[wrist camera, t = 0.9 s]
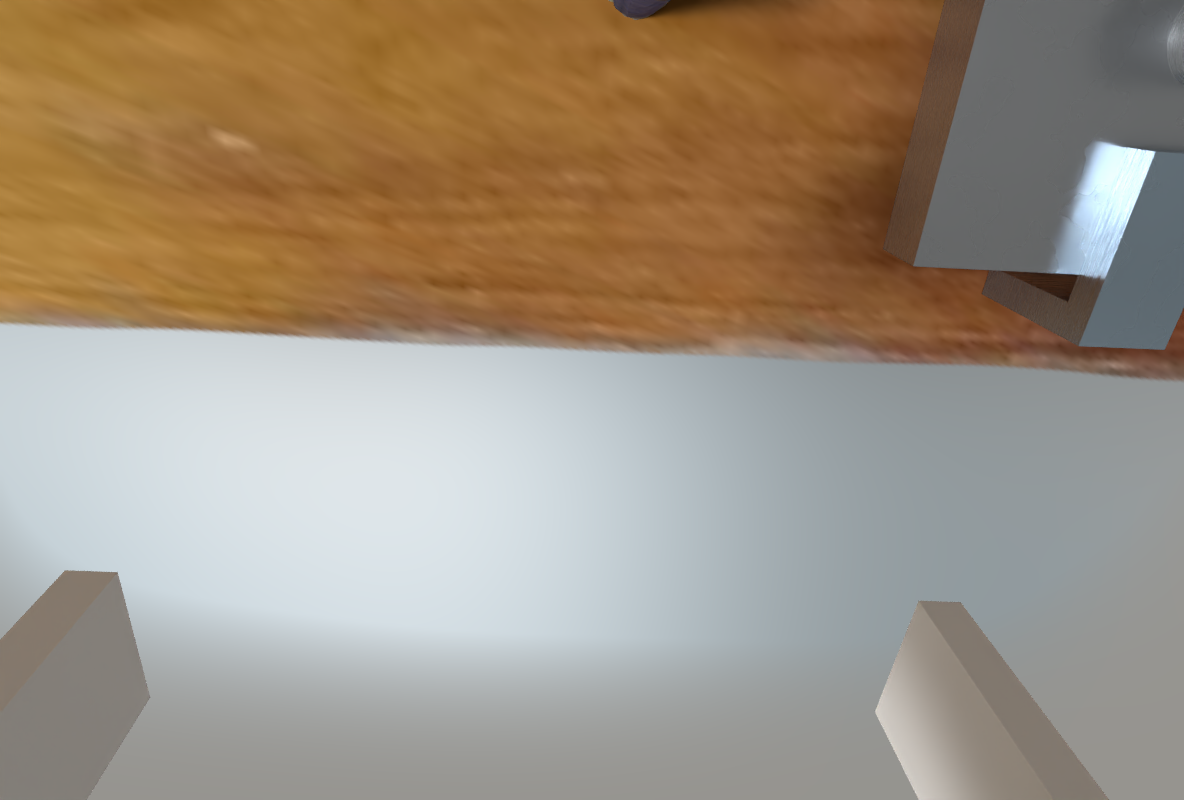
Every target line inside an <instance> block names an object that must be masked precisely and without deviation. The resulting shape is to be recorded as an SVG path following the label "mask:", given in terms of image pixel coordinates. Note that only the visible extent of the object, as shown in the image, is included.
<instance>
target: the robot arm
mask: <svg viewBox="0 0 1184 800" xmlns="http://www.w3.org/2000/svg"><path fill="white" fill-rule="evenodd" d="M149 698H150V695H149V691H148V687H147V684H146V680H145V676H144V672H143V668H142V664H141V660H140V657H139V653H138V649H137V645H136V642H135V637H134V634H133V630H132V626H131V622H130V618H129V614H128V611H127V607H126V603H125V599H124V595H123V592H122V588H121V584H120V580H119V576H118V573H117V572H91V571H64V572H63V573H62V574H61V576H60V577H59V578H58V579H57V580H56V581H55V582H54V583H53V584H52V585H51V586H50V587H49V588H48V589H47V590H46V592H45V593H44V594H43V595H42V596H41V597H40V598H39V599H38V600H37V601H36V602H35V603H34V604H33V606H31V608H30V609H29V610H28V611H27V612H26V613H25V614H24V615H23V616H22V617H21V618H20V619H19V620H18V621H17V622H16V624H15V625H14V626H13V627H12V628H11V629H10V630H9V631H8V632H7V633H6V635H4V636H3V638H2V639H1V640H0V800H87V798H88V797H89V795H90V794H91V792H92V790H93V789H94V787H95V785H96V784H97V782H98V781H99V779H100V777H101V776H102V774H103V773H104V771H105V769H106V768H107V766H108V764H109V762H110V761H111V760H112V758H113V756H114V755H115V753H116V752H117V750H118V748H119V747H120V745H121V743H122V742H123V740H124V739H125V737H126V735H127V734H128V732H129V731H130V729H131V727H132V726H133V724H134V723H135V721H136V719H137V718H138V716H139V714H140V713H141V711H142V710H143V708H144V706H145V705H146V703H147V701H148V700H149ZM875 713H876V715H877V717H878V718H879V720H880V723H881V724H882V727H883V728H884V731H885V733H886V735H887V737H888V739H889V741H890V743H891V745H892V747H893V749H894V751H895V753H896V755H897V757H898V759H899V761H900V763H901V765H902V767H903V769H904V771H905V773H906V775H907V777H908V779H909V781H910V783H911V785H912V787H913V789H914V791H915V793H916V795H917V797H918V799H919V800H1109V799H1108V798H1107V796H1106V795H1105V794H1104V792H1103V791H1102V790H1101V788H1100V787H1099V786H1098V784H1097V783H1096V782H1095V780H1094V779H1093V778H1092V777H1091V775H1090V774H1089V772H1088V771H1087V770H1086V768H1085V767H1084V766H1083V765H1082V764H1081V762H1080V761H1079V759H1078V758H1077V757H1076V755H1075V754H1074V753H1073V751H1072V750H1071V749H1070V747H1069V746H1068V745H1067V743H1066V742H1065V741H1064V739H1063V738H1062V737H1061V735H1060V734H1059V733H1058V731H1057V730H1056V729H1055V727H1054V726H1053V725H1052V723H1051V722H1050V721H1049V720H1048V718H1047V717H1046V715H1045V714H1044V713H1043V712H1042V710H1041V709H1040V707H1039V706H1038V705H1037V703H1036V702H1035V701H1034V700H1033V698H1032V697H1031V695H1030V694H1029V693H1028V692H1027V690H1026V689H1025V687H1024V686H1023V685H1022V683H1021V682H1020V681H1019V680H1018V678H1017V677H1016V675H1015V674H1014V673H1013V671H1012V670H1011V669H1010V668H1009V666H1008V665H1007V664H1006V662H1005V661H1004V660H1003V658H1002V657H1001V656H1000V654H999V653H998V652H997V650H996V649H995V648H994V646H993V645H992V644H991V642H990V641H989V640H988V638H987V637H986V636H985V634H984V633H983V632H982V630H981V629H980V628H979V626H978V625H977V624H976V622H975V621H974V620H973V618H972V617H971V616H970V614H969V613H968V612H967V610H966V609H965V608H964V607H963V605H962V604H961V603H960V602H936V601H918V604H917V607H916V609H915V612H914V614H913V617H912V619H911V622H910V624H909V627H908V629H907V632H906V634H905V638H904V640H903V642H902V645H901V647H900V650H899V652H898V655H897V657H896V660H895V663H894V665H893V667H892V670H891V673H890V675H889V678H888V680H887V683H886V686H885V688H884V691H883V693H882V695H881V698H880V700H879V703H878V706H877V708H876V711H875Z"/></svg>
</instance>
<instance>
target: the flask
mask: <svg viewBox="0 0 1184 800" xmlns="http://www.w3.org/2000/svg"><path fill="white" fill-rule="evenodd" d="M609 1H612V2H614V6H615V8H616V9H617V10H619V11H620V12H621V13H622V14H623V15H624V16H626V17H630V18H632V19H634V20H638V19H643V18H645V17H648V16H650V15H651V14H653V13H655V12H656V11H657V10H659V9H661V8H662V7H664V6H665V5H667V2H670V0H609Z"/></svg>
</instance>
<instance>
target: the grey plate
mask: <svg viewBox="0 0 1184 800" xmlns="http://www.w3.org/2000/svg"><path fill="white" fill-rule="evenodd" d="M883 249H884V250H885V251H887V252H889V253H891V254H892V255H894V256H896V257H898V258H900V259H901V260H903V261H905V262H907V263H908V264H910V265H912V266H919V267H939V268H958V269H978V270H989V274H988V277H987V280H986V283H985V286H984V289H983V292H982V294H983V295H985V296H987V297H988V298H990V299H992V300H994V301H996V302H998V303H1000V304H1001V305H1003V306H1005V307H1007V308H1009V309H1011V310H1013V311H1014V312H1016V313H1018V314H1020V315H1022V316H1024V317H1026V318H1028V319H1029V320H1031V321H1033V322H1035V323H1037V324H1039V325H1041V326H1042V327H1044V328H1046V329H1048V330H1050V331H1052V332H1054V333H1055V334H1057V335H1059V336H1061V337H1063V338H1065V339H1067V340H1068V341H1070V342H1072V343H1074V344H1076V345H1078V346H1090V347H1114V348H1138V349H1161V350H1165V348H1166V345H1167V343H1168V341H1169V339H1170V337H1171V334H1172V332H1173V330H1174V328H1175V326H1176V323H1177V321H1178V319H1179V317H1180V315H1181V312H1182V310H1183V308H1184V0H945V1H944V5H943V9H942V13H941V17H940V21H939V25H938V29H937V34H936V38H935V42H934V46H933V50H932V54H931V58H930V62H929V66H928V70H927V74H926V78H925V82H924V86H923V90H922V94H921V98H920V102H919V106H918V110H917V114H916V118H915V122H914V126H913V130H912V134H911V138H910V142H909V146H908V150H907V154H906V158H905V162H904V166H903V170H902V175H901V179H900V183H899V187H898V191H897V195H896V199H895V203H894V207H893V211H892V215H891V219H890V223H889V227H888V231H887V235H886V239H885V243H884V247H883ZM1074 274H1077V275H1078V276H1077V275H1074Z"/></svg>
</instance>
